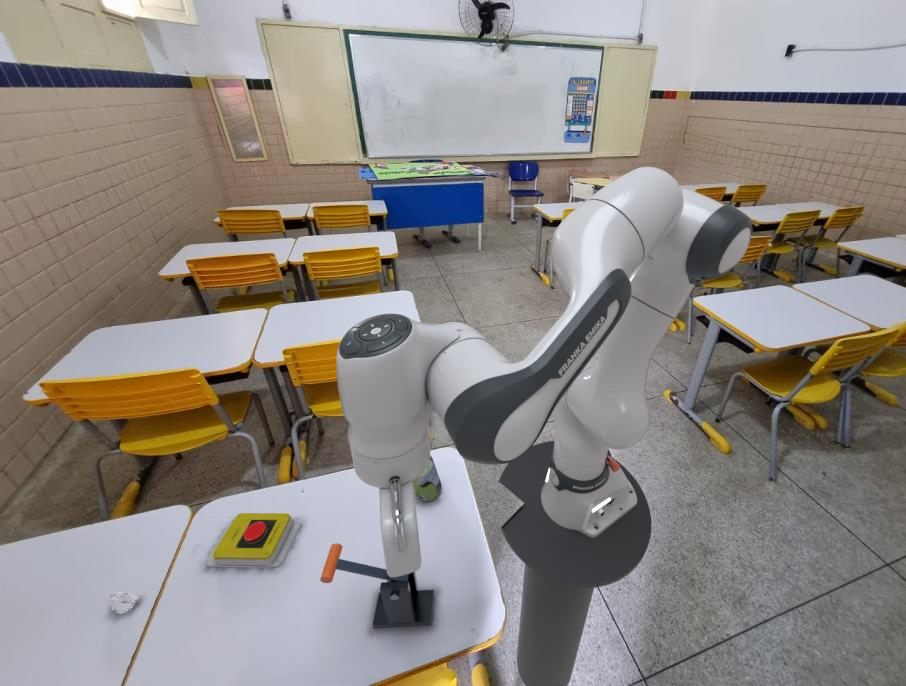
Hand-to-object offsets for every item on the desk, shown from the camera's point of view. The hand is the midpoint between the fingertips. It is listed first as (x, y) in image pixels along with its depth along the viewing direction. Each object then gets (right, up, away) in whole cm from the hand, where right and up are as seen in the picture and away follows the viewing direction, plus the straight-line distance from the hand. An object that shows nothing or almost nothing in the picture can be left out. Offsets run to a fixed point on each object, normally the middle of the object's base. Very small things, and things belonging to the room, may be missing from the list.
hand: (401, 519), depth 51 cm
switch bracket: (-4, -26, +17) cm, 31 cm away
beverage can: (-4, -15, +38) cm, 41 cm away
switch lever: (-9, -15, +11) cm, 20 cm away
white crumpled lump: (-54, -25, +17) cm, 62 cm away
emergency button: (-37, -20, +27) cm, 50 cm away
